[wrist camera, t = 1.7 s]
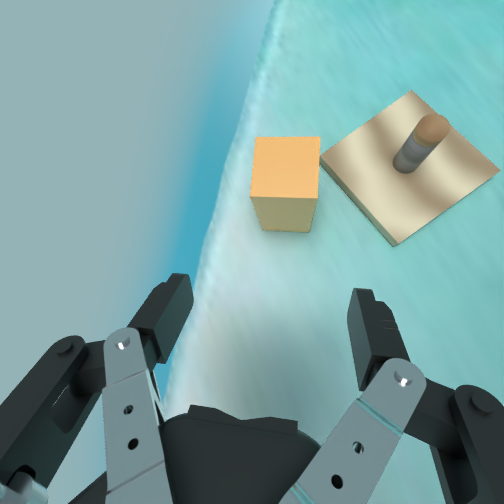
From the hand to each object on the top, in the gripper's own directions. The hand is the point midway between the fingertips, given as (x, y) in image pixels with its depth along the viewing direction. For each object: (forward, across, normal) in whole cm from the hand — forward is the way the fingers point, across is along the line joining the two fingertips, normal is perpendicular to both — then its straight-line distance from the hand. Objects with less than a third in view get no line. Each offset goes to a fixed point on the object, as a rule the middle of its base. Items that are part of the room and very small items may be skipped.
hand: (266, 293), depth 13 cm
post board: (+23, -13, 0) cm, 27 cm away
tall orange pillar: (+20, 0, +4) cm, 20 cm away
